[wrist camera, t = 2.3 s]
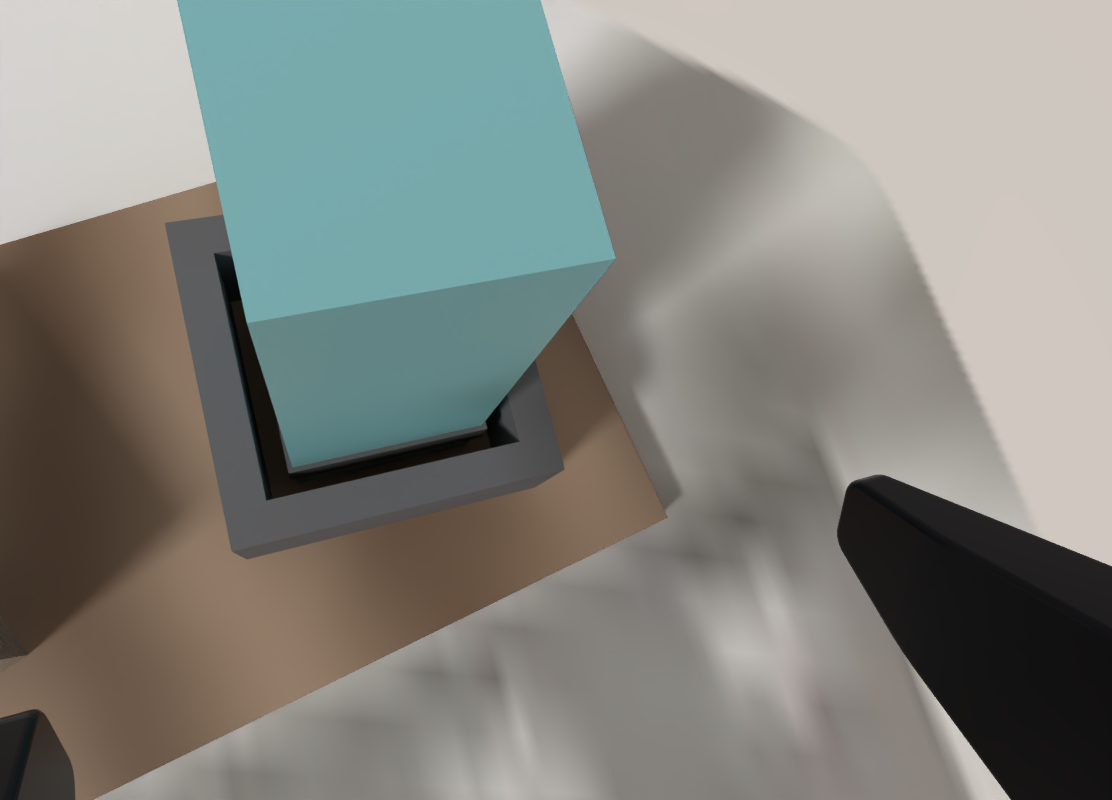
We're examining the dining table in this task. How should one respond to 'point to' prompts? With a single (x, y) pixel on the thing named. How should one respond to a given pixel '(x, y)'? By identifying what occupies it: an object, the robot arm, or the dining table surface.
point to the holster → (324, 513)
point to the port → (9, 648)
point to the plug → (394, 211)
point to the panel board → (198, 519)
